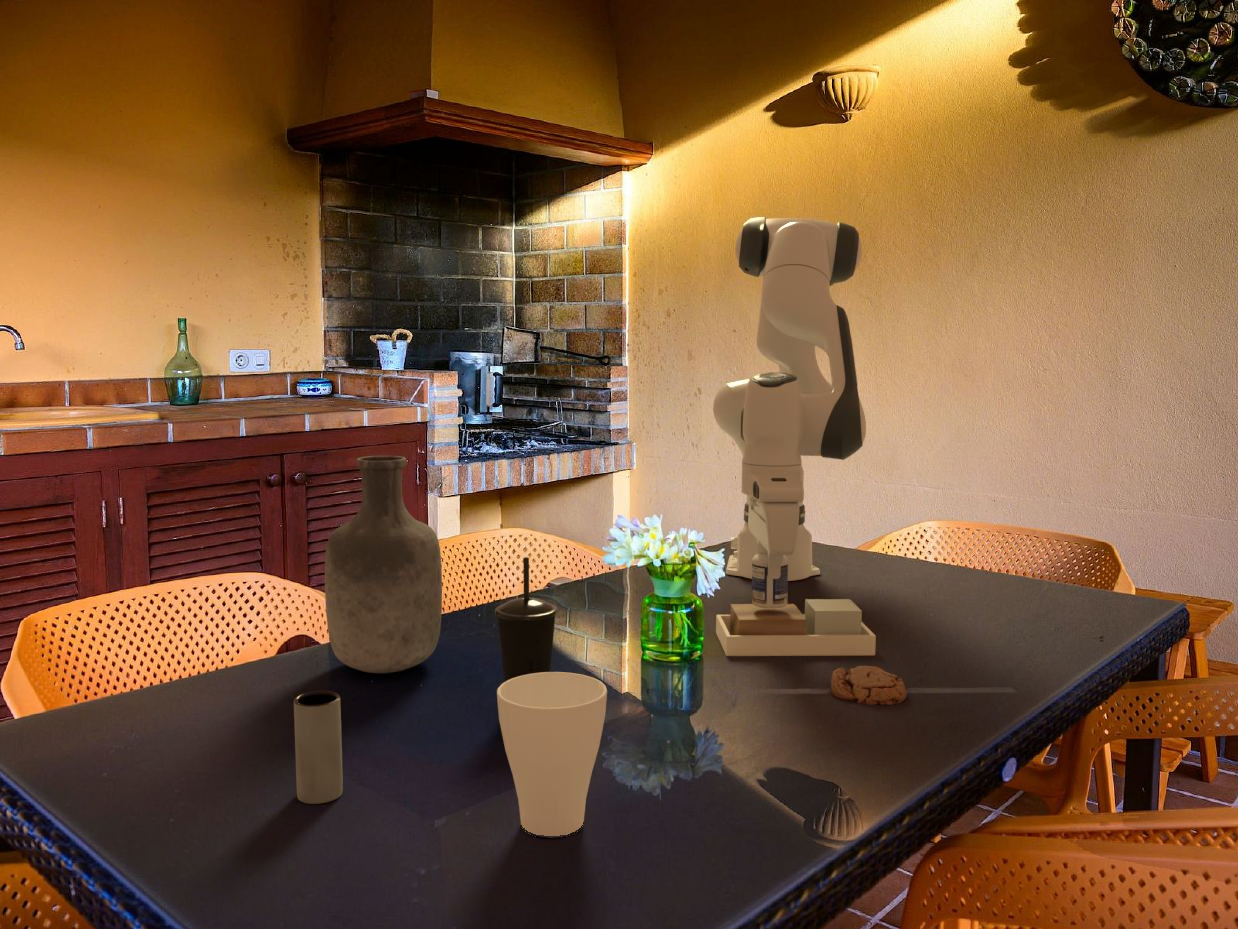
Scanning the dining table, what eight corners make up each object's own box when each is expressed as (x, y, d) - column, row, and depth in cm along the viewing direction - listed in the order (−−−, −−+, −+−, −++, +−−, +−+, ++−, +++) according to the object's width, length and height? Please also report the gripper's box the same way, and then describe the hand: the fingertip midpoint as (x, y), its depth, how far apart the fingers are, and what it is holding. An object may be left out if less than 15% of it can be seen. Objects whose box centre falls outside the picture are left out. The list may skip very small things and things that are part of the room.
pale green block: (804, 636, 161) (805, 599, 160) (848, 636, 161) (849, 599, 160) (814, 650, 154) (815, 611, 153) (860, 650, 154) (861, 611, 153)
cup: (609, 801, 105) (609, 672, 103) (603, 852, 94) (604, 710, 93) (506, 799, 105) (505, 670, 103) (489, 849, 95) (488, 707, 93)
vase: (429, 646, 157) (426, 450, 153) (454, 678, 142) (452, 462, 138) (321, 658, 151) (315, 454, 147) (335, 693, 136) (329, 467, 132)
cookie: (890, 713, 131) (890, 690, 130) (814, 695, 137) (814, 673, 137) (919, 692, 138) (920, 671, 138) (846, 676, 145) (847, 655, 144)
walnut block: (729, 635, 161) (730, 604, 161) (793, 635, 162) (794, 603, 161) (738, 652, 152) (739, 619, 152) (805, 652, 153) (806, 619, 152)
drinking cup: (484, 714, 129) (482, 556, 126) (534, 700, 134) (533, 549, 131) (519, 732, 123) (518, 567, 120) (570, 717, 128) (570, 559, 125)
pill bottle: (786, 600, 159) (787, 538, 158) (788, 609, 153) (789, 545, 152) (751, 600, 159) (751, 538, 158) (752, 609, 154) (752, 545, 153)
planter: (302, 785, 108) (299, 690, 106) (346, 784, 108) (344, 690, 107) (292, 805, 103) (288, 706, 102) (338, 804, 104) (335, 705, 102)
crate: (715, 636, 163) (716, 614, 162) (853, 635, 164) (854, 614, 163) (726, 659, 151) (726, 636, 151) (874, 659, 152) (875, 636, 151)
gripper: (739, 473, 164) (738, 558, 166) (762, 491, 144) (760, 588, 146) (778, 473, 165) (776, 558, 166) (806, 491, 144) (804, 588, 146)
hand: (769, 572), depth 156 cm, fingers closed on pill bottle, 5 cm apart
